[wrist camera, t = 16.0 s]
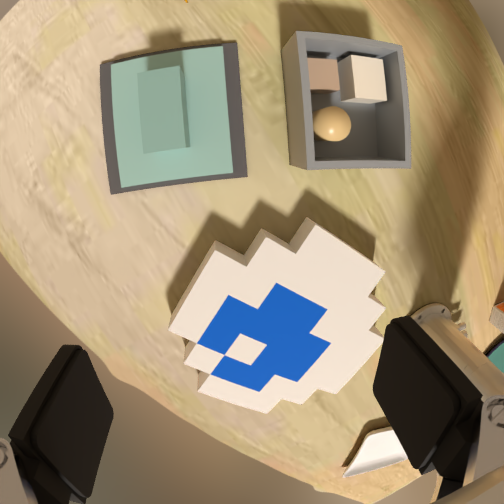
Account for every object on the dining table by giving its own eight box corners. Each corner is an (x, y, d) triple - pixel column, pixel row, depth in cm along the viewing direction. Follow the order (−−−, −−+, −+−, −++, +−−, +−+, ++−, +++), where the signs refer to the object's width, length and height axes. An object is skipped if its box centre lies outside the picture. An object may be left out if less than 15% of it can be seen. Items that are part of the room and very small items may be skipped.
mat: (236, 43, 28) (237, 42, 28) (247, 176, 34) (247, 176, 33) (101, 65, 27) (99, 64, 26) (112, 193, 32) (110, 194, 32)
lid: (222, 48, 28) (224, 30, 22) (232, 171, 33) (236, 177, 27) (113, 66, 27) (95, 53, 21) (123, 186, 32) (106, 195, 26)
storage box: (372, 58, 30) (402, 45, 23) (379, 162, 35) (411, 168, 28) (280, 50, 29) (295, 30, 22) (289, 164, 34) (307, 170, 27)
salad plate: (338, 470, 61) (341, 479, 58) (363, 425, 54) (368, 436, 51) (403, 452, 64) (407, 460, 61) (434, 405, 57) (440, 414, 54)
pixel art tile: (305, 423, 45) (145, 370, 37) (300, 407, 49) (150, 352, 41) (418, 295, 38) (254, 185, 31) (404, 283, 42) (250, 181, 34)
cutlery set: (513, 318, 51) (518, 323, 49) (513, 368, 62) (517, 372, 60) (460, 373, 54) (464, 379, 52) (470, 411, 65) (473, 415, 62)
